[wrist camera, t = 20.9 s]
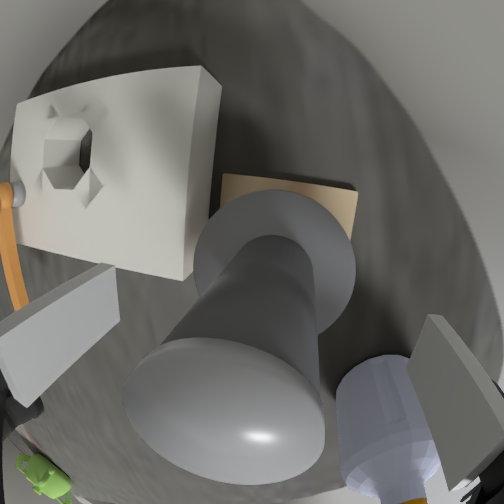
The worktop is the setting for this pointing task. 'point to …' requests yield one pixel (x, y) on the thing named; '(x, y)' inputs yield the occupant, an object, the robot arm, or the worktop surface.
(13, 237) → the clip
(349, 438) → the soap bottle
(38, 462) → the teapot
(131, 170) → the socket block
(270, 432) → the plug
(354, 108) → the worktop surface
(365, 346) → the worktop surface
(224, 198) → the cork mat
